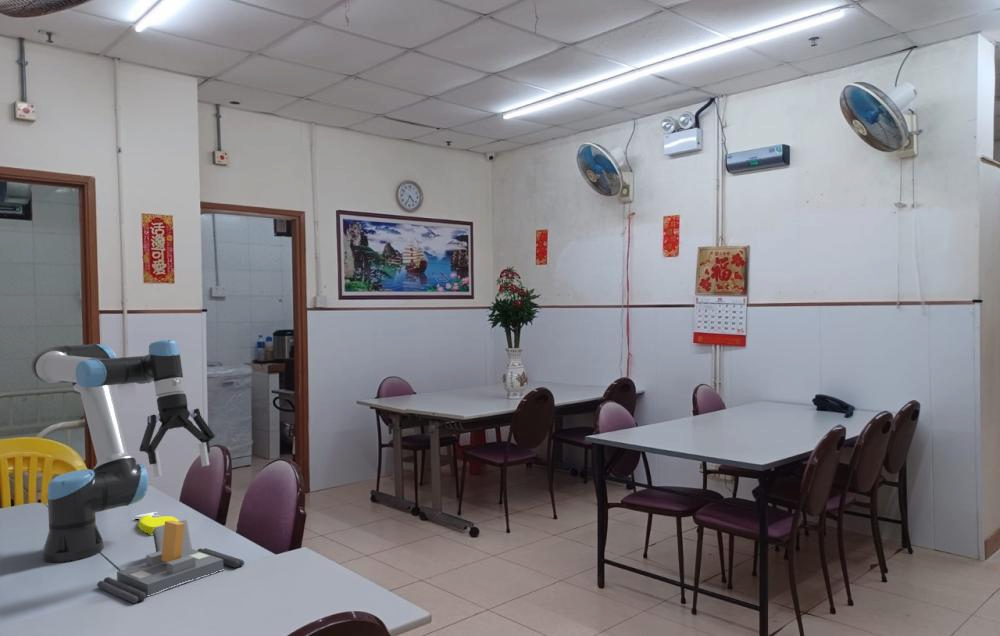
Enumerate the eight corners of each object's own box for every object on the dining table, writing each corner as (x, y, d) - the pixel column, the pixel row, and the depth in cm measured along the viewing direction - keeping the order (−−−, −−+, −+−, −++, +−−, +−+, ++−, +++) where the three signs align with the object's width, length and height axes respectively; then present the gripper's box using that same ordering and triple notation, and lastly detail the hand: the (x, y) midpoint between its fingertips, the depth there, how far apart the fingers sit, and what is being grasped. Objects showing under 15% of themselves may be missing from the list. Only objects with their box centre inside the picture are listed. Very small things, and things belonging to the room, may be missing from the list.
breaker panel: (117, 583, 177) (116, 562, 177) (191, 559, 193) (190, 540, 193) (148, 596, 167) (147, 574, 167) (223, 570, 183) (222, 550, 183)
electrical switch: (160, 561, 192) (157, 528, 193) (151, 559, 196) (149, 526, 196) (192, 552, 200) (190, 519, 200) (184, 550, 203) (181, 518, 203)
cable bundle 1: (97, 588, 174) (96, 580, 174) (111, 583, 177) (111, 576, 177) (133, 605, 163) (133, 596, 163) (148, 600, 165) (147, 591, 165)
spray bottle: (148, 537, 215) (126, 523, 233) (185, 529, 223) (161, 516, 241) (148, 528, 215) (126, 514, 233) (184, 520, 223) (160, 507, 241)
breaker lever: (160, 562, 181) (164, 521, 182) (167, 561, 183) (171, 520, 184) (173, 567, 177) (177, 524, 178) (180, 565, 179) (184, 523, 180)
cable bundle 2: (196, 556, 195) (196, 549, 195) (207, 553, 198) (207, 546, 198) (234, 569, 184) (234, 562, 184) (246, 565, 187) (245, 558, 187)
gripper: (131, 398, 181) (143, 478, 178) (219, 387, 201) (231, 460, 198) (118, 403, 185) (130, 481, 182) (205, 392, 205) (217, 463, 202)
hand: (182, 470), depth 190 cm, fingers open, 13 cm apart
